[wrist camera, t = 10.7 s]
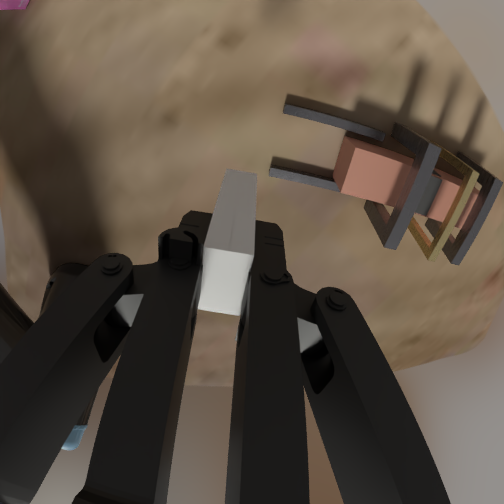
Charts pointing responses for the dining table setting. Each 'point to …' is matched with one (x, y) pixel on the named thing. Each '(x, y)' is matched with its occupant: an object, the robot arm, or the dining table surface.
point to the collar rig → (412, 190)
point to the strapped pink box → (394, 180)
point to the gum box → (13, 4)
